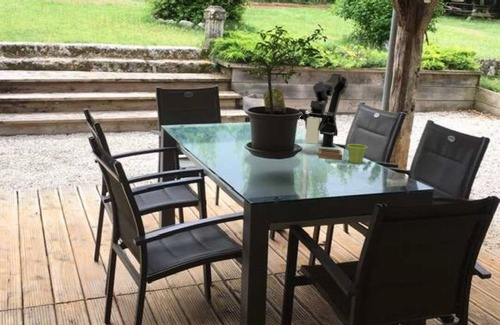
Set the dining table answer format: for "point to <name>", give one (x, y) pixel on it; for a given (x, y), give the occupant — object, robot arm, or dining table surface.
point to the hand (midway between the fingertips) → (312, 129)
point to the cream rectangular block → (312, 130)
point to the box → (330, 154)
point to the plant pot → (356, 153)
